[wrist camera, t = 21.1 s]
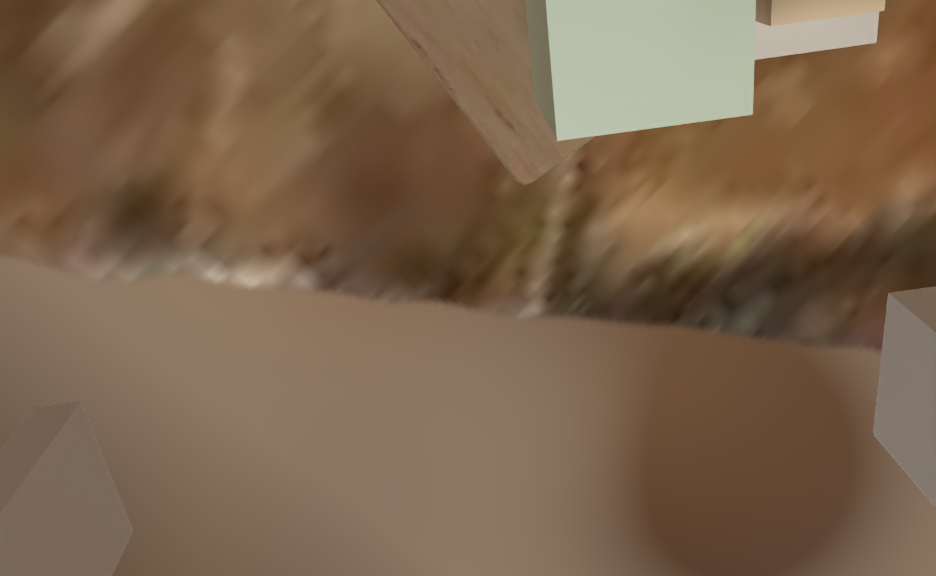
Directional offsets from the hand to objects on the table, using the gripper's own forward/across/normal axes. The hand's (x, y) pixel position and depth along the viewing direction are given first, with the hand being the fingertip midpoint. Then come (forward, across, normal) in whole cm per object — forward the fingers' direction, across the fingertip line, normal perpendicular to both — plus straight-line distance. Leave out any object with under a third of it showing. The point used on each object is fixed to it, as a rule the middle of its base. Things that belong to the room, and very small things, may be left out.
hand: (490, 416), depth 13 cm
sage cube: (+19, +6, +4) cm, 20 cm away
